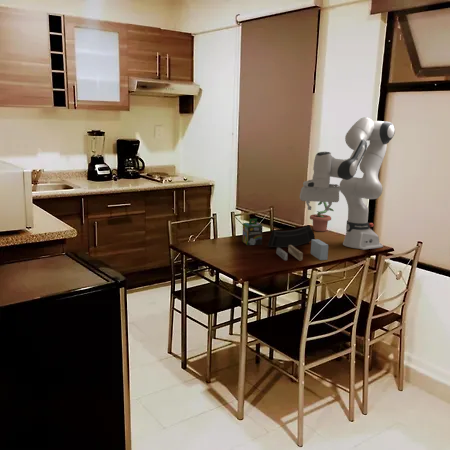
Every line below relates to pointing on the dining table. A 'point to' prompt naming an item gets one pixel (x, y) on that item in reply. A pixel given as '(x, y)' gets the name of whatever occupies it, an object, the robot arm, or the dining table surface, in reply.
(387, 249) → the dining table surface
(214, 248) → the dining table surface
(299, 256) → the shelf wall
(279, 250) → the gray flat block
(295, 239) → the magazine
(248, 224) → the chalk box
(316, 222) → the decorative flower
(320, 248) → the book
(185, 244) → the dining table surface
